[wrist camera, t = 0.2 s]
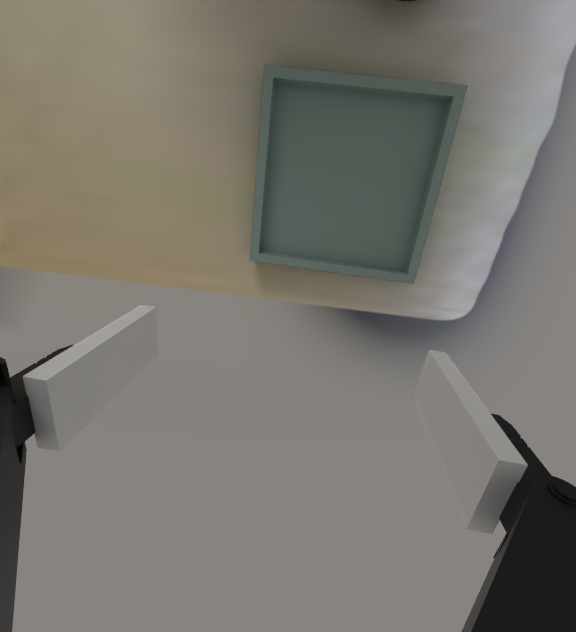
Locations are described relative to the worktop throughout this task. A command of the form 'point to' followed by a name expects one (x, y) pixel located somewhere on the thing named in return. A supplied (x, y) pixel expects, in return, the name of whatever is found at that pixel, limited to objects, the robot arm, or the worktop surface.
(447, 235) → the worktop surface
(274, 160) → the tray
